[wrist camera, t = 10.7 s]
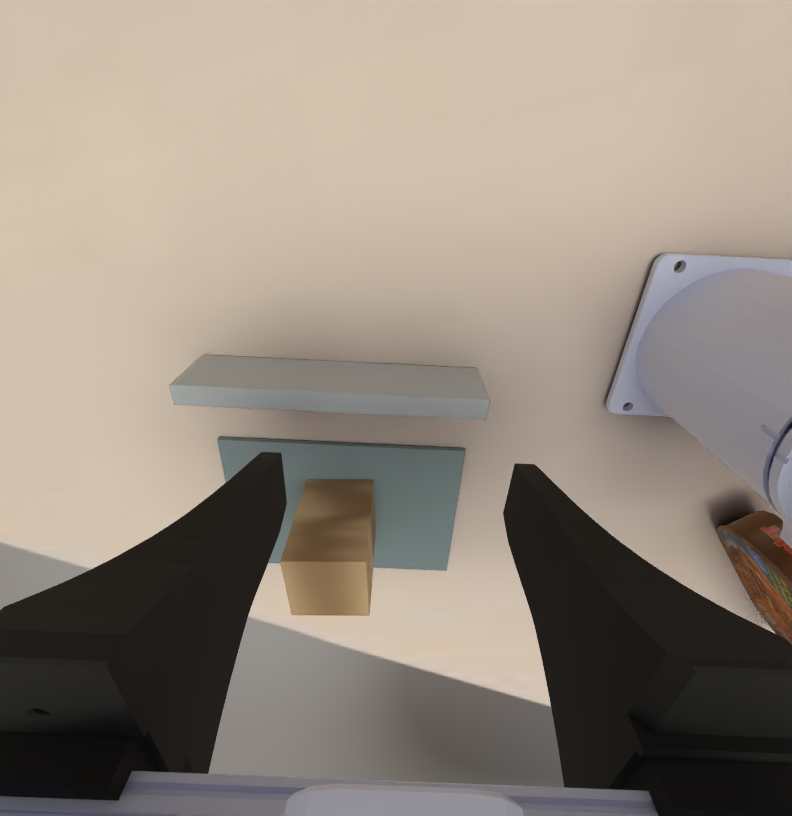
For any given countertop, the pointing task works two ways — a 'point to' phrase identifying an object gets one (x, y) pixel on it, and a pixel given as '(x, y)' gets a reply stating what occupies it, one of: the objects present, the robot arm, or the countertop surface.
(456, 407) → the low wall
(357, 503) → the oak block
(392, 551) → the mat
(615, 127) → the countertop surface
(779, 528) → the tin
